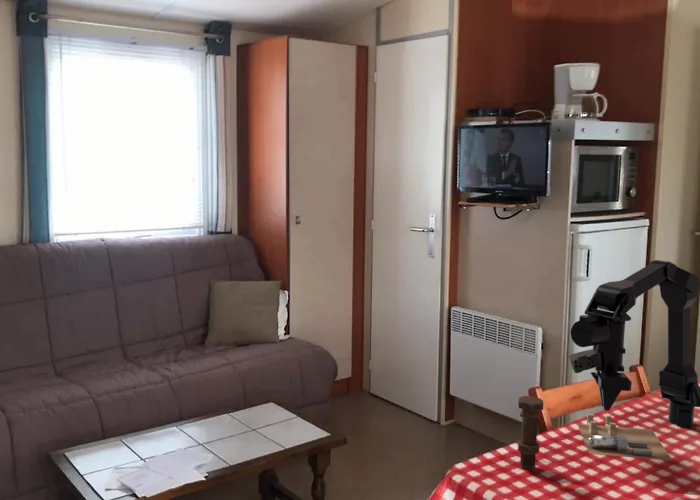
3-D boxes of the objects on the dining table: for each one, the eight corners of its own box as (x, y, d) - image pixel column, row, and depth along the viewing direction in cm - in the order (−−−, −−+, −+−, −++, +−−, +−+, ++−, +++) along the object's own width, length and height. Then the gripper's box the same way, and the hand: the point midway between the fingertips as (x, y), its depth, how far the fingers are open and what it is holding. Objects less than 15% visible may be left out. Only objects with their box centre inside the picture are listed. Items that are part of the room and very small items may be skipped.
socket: (627, 444, 162) (627, 440, 162) (645, 446, 161) (646, 442, 161) (632, 454, 156) (633, 450, 156) (651, 456, 156) (652, 452, 155)
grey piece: (623, 447, 161) (624, 435, 160) (626, 451, 158) (627, 440, 157) (587, 444, 162) (588, 432, 161) (589, 449, 159) (590, 437, 159)
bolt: (540, 473, 148) (544, 405, 146) (515, 471, 149) (519, 403, 147) (538, 462, 154) (542, 396, 152) (515, 459, 155) (518, 394, 153)
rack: (586, 424, 174) (587, 413, 174) (610, 426, 173) (611, 415, 173) (590, 433, 168) (591, 422, 168) (615, 435, 167) (616, 424, 167)
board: (577, 427, 174) (577, 423, 174) (651, 432, 171) (651, 429, 171) (589, 456, 157) (589, 453, 157) (672, 463, 154) (672, 460, 154)
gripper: (567, 329, 167) (563, 392, 169) (579, 349, 149) (574, 420, 151) (615, 332, 165) (611, 396, 167) (634, 353, 147) (629, 424, 149)
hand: (605, 408), depth 159 cm, fingers closed
